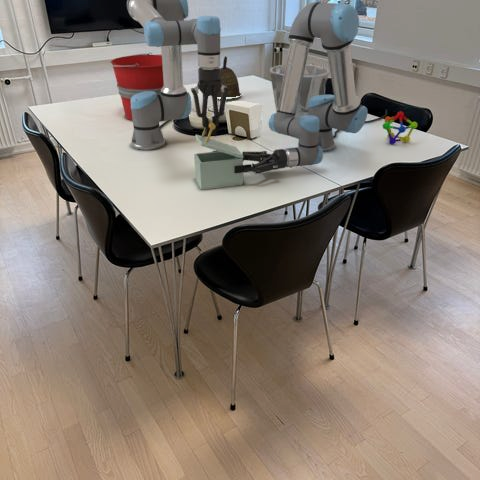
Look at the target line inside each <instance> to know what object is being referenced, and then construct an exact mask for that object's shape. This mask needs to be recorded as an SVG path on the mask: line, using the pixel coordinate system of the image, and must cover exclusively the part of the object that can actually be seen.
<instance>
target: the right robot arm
mask: <svg viewBox="0 0 480 480" xmlns="http://www.w3.org/2000/svg"><path fill="white" fill-rule="evenodd" d="M359 26H360V17H359V13H358V11H357V9H356V8H355V7H354V6H353V5H351V4H346V3H342V2H338V3H334V2H321V1H313V2H310V3H308V4H306V5H305V6H304V7H302V8H301V10H299V11H298V13H297V14H296V16H295V18H294V19H293V22H292V24H291V26H290V30H289V32H288V33H289V34H288V42H289V47H288V53H287V57H286V58H287V59H286V63H285V65H286V68H285V73H284V78H283V83H282V88H281V94H280V99H279V104H278V109H277V113H276V112H273V113H272V114H271V115H270V118H269V119H268V128H269V130H270V131H272V132H274V133H277V134H280V135H284V136H288V137H291V138H295V139H296V140H297V139H298V146H297V147H288V148H287V147H285V148H279V149H274V150H273V152H272V153H268V151H267V150H265V151H264V150H261V151H242V152H241V154H242V155H243V163H244V162H245V161H249V162H256V163H252V164H251V163H249V164H243V165H239V166H235V173H243V174H244V173H251V172H252V173H255V175H258V174H261V173H266V172H269V171H270V172H271V171H274V170H275V171H276V170H279V169H280V170H281V169H286V168H290V169H292V168H296V167H305V166H313V165H314V166H315V165H318V164H320V163H322V161H323V159H324V153H325V152H331V151H332V150H334V149H335V144H336V143H335V140H334V139H335V138H336V137H337V134H338V132H344V133H350V134H357V133H358V132H360V131H361V130H362V128H363V127H364V125H365V124H368V123H372V122H376V121H379V120H382V119H385V118H386V117H387V115H388V109H385V110H384V112H385V114H384V115H382V116H380V117H377V118H374V119H369V120H367V118H368V108H367V107H366V106H365V105H362V104H361V103H362V102H361V98H360V97H359V96H358V95H357V94H356V85H355V83H356V82H355V75H354V67H353V66H354V65H353V58H352V50H351V44H353V42H354V40H355V38H356V36H357V35H358V32H359ZM315 38H316V39H320V41H321V48H322V49H323V50H324V51H326V54H327V59H328V65H329V74H330V78H331V84H332V85H331V86H332V92H333V94H325V95H324V94H322V95H317V96H313V97H311V98H310V100H309V106H308V115H305V116H302V117H301V119H298V118H295V113H296V108H297V104H298V99H299V94H300V89H301V85H302V80H303V75H304V71H305V66H306V65H307V61H308V56H309V51H310V47H312V45H313V44H314V42H315ZM333 129H334V130H336V131H334V133H333Z"/></svg>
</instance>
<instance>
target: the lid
mask: <svg viewBox="0 0 480 480" xmlns="http://www.w3.org/2000/svg"><path fill="white" fill-rule="evenodd" d="M207 118H208V119H209V134H208V137H207V136H206V135H205V127H203V128H204V129H203V131H202V133H201V135H199V134H195V136H194V138H195V139H196V141H197V142H198V143H199V145H200V146H201V147H204V148H207V149H210V150H212V151H220V152H223V153H226V154H230V155H233V156H236V157H240V158H243V155H242V152H241V151H240V150H239V149H238V147H237V146H235V145H232V144H228V143H226V142H222V141H220V140H219V141H218V140H216V139H212V138H211V135H212V130H214V129H215V127H216V128H217V126H215V124H214V123H213V122H212V119H211V118H209V117H207Z"/></svg>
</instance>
